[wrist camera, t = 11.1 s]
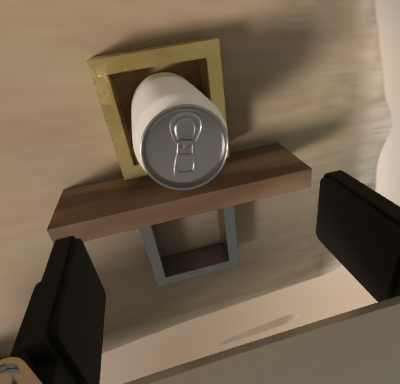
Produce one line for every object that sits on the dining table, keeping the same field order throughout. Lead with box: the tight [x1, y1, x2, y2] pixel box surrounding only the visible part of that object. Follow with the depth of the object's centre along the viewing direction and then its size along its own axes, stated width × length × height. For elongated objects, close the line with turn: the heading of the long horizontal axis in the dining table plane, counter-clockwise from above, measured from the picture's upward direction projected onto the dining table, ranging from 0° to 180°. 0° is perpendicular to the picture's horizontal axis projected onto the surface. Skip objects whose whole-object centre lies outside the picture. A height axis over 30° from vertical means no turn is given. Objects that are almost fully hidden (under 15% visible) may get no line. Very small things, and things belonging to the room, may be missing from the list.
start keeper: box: [140, 205, 239, 287], centre depth 34 cm, size 10×10×4 cm
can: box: [131, 72, 229, 190], centre depth 23 cm, size 6×6×12 cm
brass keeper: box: [87, 37, 230, 180], centre depth 26 cm, size 10×10×4 cm
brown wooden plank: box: [47, 143, 312, 243], centre depth 29 cm, size 2×24×7 cm, turn 98°
